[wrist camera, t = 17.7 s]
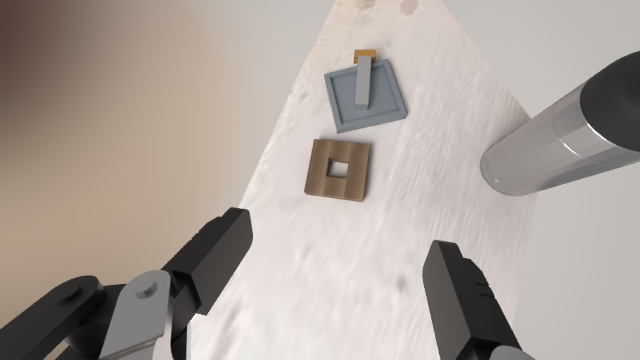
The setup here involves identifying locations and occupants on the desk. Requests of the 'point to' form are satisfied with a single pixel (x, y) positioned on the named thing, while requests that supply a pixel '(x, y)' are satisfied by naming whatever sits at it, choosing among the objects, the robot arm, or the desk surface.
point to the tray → (381, 102)
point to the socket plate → (330, 185)
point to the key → (363, 77)
